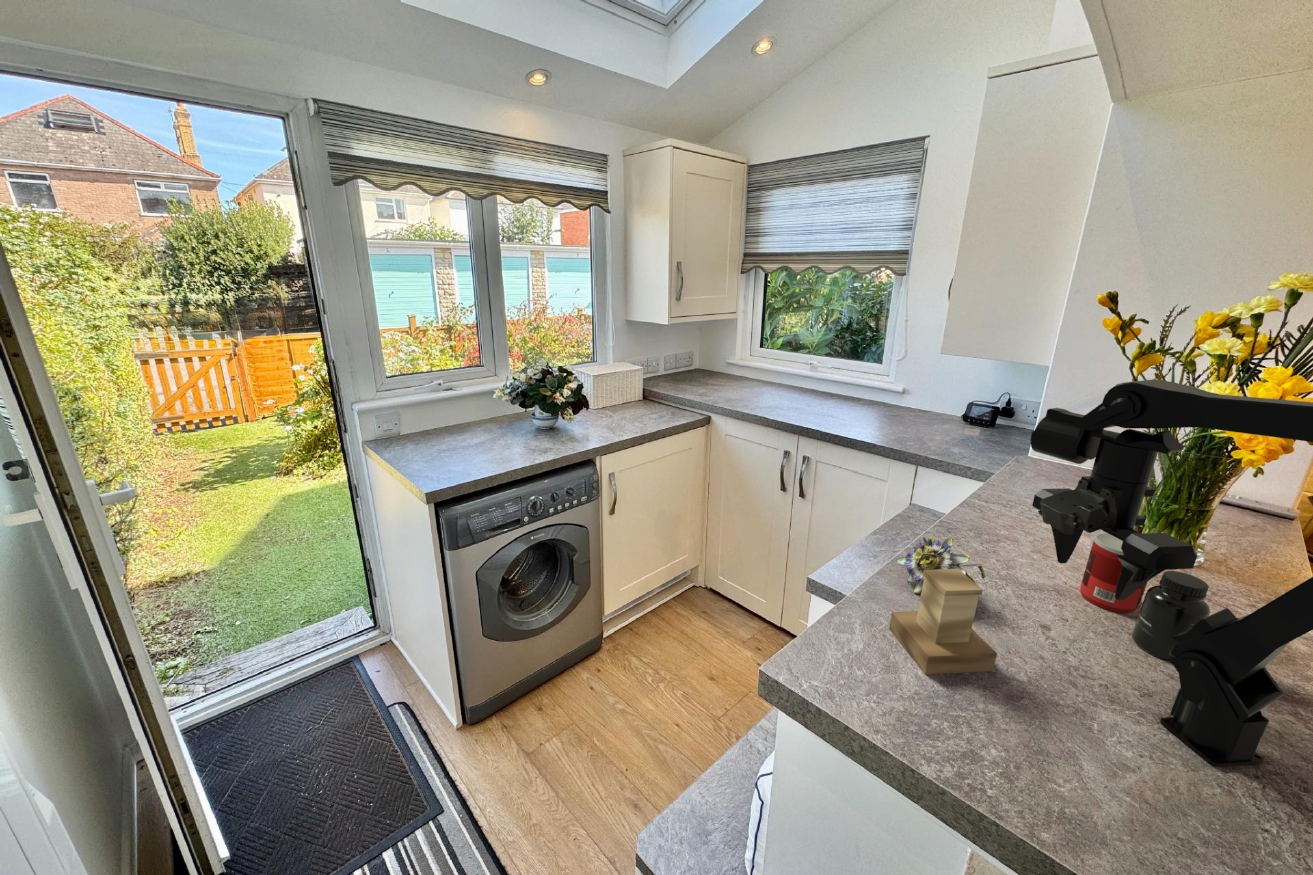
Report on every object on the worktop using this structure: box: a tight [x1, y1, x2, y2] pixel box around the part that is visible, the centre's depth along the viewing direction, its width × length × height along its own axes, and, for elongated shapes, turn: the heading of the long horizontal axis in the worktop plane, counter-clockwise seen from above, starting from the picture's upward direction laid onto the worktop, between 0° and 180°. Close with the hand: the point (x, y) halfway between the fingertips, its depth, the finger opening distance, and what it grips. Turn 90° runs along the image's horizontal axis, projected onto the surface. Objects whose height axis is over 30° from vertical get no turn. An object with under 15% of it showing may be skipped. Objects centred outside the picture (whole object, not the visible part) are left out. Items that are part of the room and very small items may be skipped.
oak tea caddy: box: [916, 569, 984, 644], centre depth 76 cm, size 5×5×9 cm
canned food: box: [1079, 533, 1148, 614], centre depth 89 cm, size 8×8×11 cm
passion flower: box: [895, 536, 987, 604], centre depth 92 cm, size 11×11×12 cm
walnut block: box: [888, 610, 998, 675], centre depth 78 cm, size 10×10×3 cm
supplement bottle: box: [1131, 570, 1211, 662], centre depth 78 cm, size 7×7×12 cm
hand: (1089, 580), depth 73 cm, fingers open, 9 cm apart
